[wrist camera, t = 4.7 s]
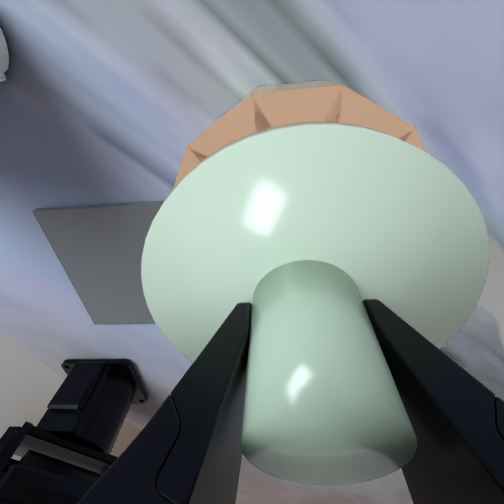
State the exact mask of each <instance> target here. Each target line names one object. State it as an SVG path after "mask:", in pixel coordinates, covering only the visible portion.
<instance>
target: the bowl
mask: <svg viewBox="0 0 504 504" xmlns="http://www.w3.org/2000/svg"><path fill="white" fill-rule="evenodd" d="M324 121H333V122H341V123H348V124H356V125H361V126H365V127H368V128H372V129H375V130H379V131H383V132H386V133H388V134H390V135H392V136H394V137H397V138H399V139H401V140H403V141H405V142H407V143H409V144H411V145H413V146H415V147H417V148H419V149H421V150H423V151H424V148H423V145H422V143H421V140H420V137H419V135H418V132H417V129H416V128H415V127H414V126H412V125H411V124H409V123H407V122H406V121H404V120H402V119H400V118H399V117H397V116H395V115H394V114H392V113H390V112H388V111H387V110H385V109H383V108H382V107H380V106H378V105H376V104H375V103H373V102H371V101H370V100H368V99H366V98H364V97H363V96H361V95H359V94H357V93H356V92H354V91H352V90H351V89H349V88H347V87H345V86H344V85H339V84H334V83H330V82H325V81H310V82H300V83H290V84H280V85H270V86H260V87H257V88H256V89H255V90H253V91H252V92H251V93H250V94H248V95H247V96H246V97H245V98H243V99H242V100H241V101H240V102H239V103H237V104H236V105H235V106H234V107H232V108H231V109H230V110H229V111H227V112H226V113H225V114H224V115H222V116H221V117H220V118H219V119H217V120H216V121H215V122H214V123H212V124H211V125H210V126H209V127H208V128H207V129H206V130H204V131H203V132H202V133H201V134H200V135H199V136H198V137H196V138H195V139H194V140H193V141H192V142H191V143H190V144H189V145H187V147H186V150H185V154H184V157H183V160H182V163H181V166H180V169H179V172H178V175H177V178H176V181H175V185H174V188H173V190H174V189H175V188H176V187H177V186H178V184H179V183H180V182H181V181H182V180H183V179H184V177H185V176H186V175H187V174H188V173H189V172H190V171H191V170H192V169H194V168H195V167H196V166H197V165H198V164H199V163H200V162H202V161H203V160H204V159H205V158H207V157H208V156H210V155H211V154H213V153H214V152H216V151H217V150H219V149H221V148H222V147H224V146H225V145H227V144H229V143H231V142H234V141H236V140H238V139H240V138H242V137H244V136H247V135H249V134H251V133H255V132H258V131H261V130H265V129H268V128H271V127H275V126H280V125H286V124H293V123H299V122H324ZM172 192H173V191H172Z"/></svg>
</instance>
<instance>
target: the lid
mask: <svg viewBox="0 0 504 504" xmlns="http://www.w3.org/2000/svg"><path fill="white" fill-rule="evenodd" d="M488 265H489V241H488V235H487V231H486V226H485V222H484V219H483V217H482V215H481V212H480V210H479V207H478V205H477V203H476V201H475V200H474V198H473V197H472V195H471V194H470V192H469V191H468V189H467V188H466V187H465V185H464V184H463V183H462V182H461V181H460V180H459V179H458V178H457V177H456V176H455V175H454V174H453V173H452V172H451V171H450V170H449V169H448V168H447V167H446V166H445V165H444V164H442V163H441V162H439V161H438V160H436V159H435V158H433V157H432V156H430V155H429V154H428V153H426V152H425V151H423V150H421V149H419V148H417V147H415V146H413V145H411V144H409V143H407V142H405V141H403V140H401V139H399V138H397V137H394V136H392V135H390V134H388V133H386V132H383V131H379V130H375V129H372V128H368V127H365V126H361V125H356V124H348V123H341V122H333V121H324V122H299V123H293V124H286V125H280V126H275V127H271V128H268V129H265V130H261V131H258V132H255V133H251V134H249V135H247V136H244V137H242V138H240V139H238V140H236V141H234V142H231V143H229V144H227V145H225V146H224V147H222V148H221V149H219V150H217V151H216V152H214V153H213V154H211V155H210V156H208V157H207V158H205V159H204V160H203V161H202V162H200V163H199V164H198V165H197V166H196V167H195V168H194V169H192V170H191V171H190V172H189V173H188V174H187V175H186V176H185V177H184V179H183V180H182V181H181V182H180V183H179V184H178V186H177V187H176V188H175V189H174V190H173V192H172V193H171V194H170V195H169V196H168V198H167V199H166V200H165V201H164V203H163V204H162V206H161V208H160V209H159V211H158V213H157V214H156V216H155V218H154V219H153V221H152V224H151V226H150V229H149V232H148V234H147V237H146V239H145V244H144V249H143V254H142V263H141V278H142V286H143V292H144V296H145V299H146V303H147V306H148V308H149V311H150V313H151V315H152V317H153V319H154V321H155V323H156V324H157V326H158V327H159V329H160V331H161V332H162V334H163V335H164V336H165V337H166V339H167V340H168V341H169V342H170V343H171V344H172V346H173V347H174V348H176V349H177V350H178V351H179V352H180V353H181V354H182V355H183V356H184V357H185V358H187V359H188V360H189V361H191V362H192V363H193V362H194V361H195V360H196V358H197V357H198V356H199V354H200V353H201V352H202V350H203V349H204V348H205V346H206V345H207V344H208V342H209V341H210V340H211V338H212V337H213V335H214V334H215V333H216V331H217V330H218V329H219V327H220V326H221V325H222V323H223V322H224V321H225V319H226V318H227V317H228V315H229V314H230V313H231V311H232V310H233V308H234V307H235V306H236V304H237V303H243V302H250V303H251V304H252V312H251V324H250V336H249V347H248V360H247V372H246V384H245V396H244V409H243V421H242V433H241V450H242V453H243V455H244V456H245V458H246V459H247V460H248V461H249V462H250V463H251V464H252V465H253V466H255V467H256V468H258V469H259V470H261V471H263V472H265V473H267V474H269V475H272V476H274V477H277V478H280V479H284V480H288V481H292V482H297V483H303V484H312V485H344V484H353V483H360V482H365V481H370V480H373V479H377V478H380V477H383V476H386V475H388V474H390V473H392V472H395V471H396V470H398V469H400V468H401V467H403V466H404V465H405V464H407V463H408V462H409V461H410V460H411V459H412V458H413V456H414V454H415V453H416V450H417V438H416V435H415V432H414V430H413V427H412V425H411V422H410V420H409V417H408V415H407V412H406V410H405V407H404V405H403V402H402V400H401V397H400V395H399V392H398V390H397V387H396V385H395V382H394V379H393V377H392V374H391V372H390V369H389V367H388V364H387V362H386V359H385V357H384V354H383V352H382V349H381V347H380V344H379V342H378V339H377V337H376V334H375V332H374V329H373V327H372V324H371V322H370V319H369V317H368V314H367V312H366V309H365V307H364V304H363V300H364V299H377V300H379V301H381V302H382V303H383V304H384V305H386V306H387V307H388V308H389V309H391V310H392V311H393V312H394V313H395V314H397V315H398V316H399V317H400V318H402V319H403V320H404V321H405V322H407V323H408V324H409V325H410V326H411V327H413V328H414V329H415V330H416V331H418V332H419V333H420V334H421V335H423V336H424V337H425V338H426V339H427V340H429V341H430V342H431V343H432V344H434V345H435V346H436V347H437V348H439V349H441V348H442V347H443V346H444V345H445V344H447V343H448V341H449V340H450V339H451V338H452V337H453V336H454V335H455V334H456V333H457V332H458V331H459V330H460V328H461V327H462V326H463V324H464V323H465V322H466V320H467V319H468V318H469V316H470V315H471V313H472V311H473V309H474V308H475V306H476V304H477V302H478V300H479V298H480V295H481V292H482V290H483V287H484V284H485V282H486V276H487V270H488Z"/></svg>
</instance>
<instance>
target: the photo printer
mask: <svg viewBox="0 0 504 504" xmlns="http://www.w3.org/2000/svg"><path fill="white" fill-rule="evenodd" d="M8 66H9V53H8V48H7V43H6V40H5V37H4V35H3V32H2V30H1V28H0V82H2V81H5V80H6V77H5V75H4V72H5V71H7V69H8Z"/></svg>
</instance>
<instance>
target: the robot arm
mask: <svg viewBox="0 0 504 504" xmlns="http://www.w3.org/2000/svg"><path fill="white" fill-rule="evenodd" d="M363 304H364V307H365V309H366V312H367V314H368V317H369V319H370V322H371V324H372V327H373V329H374V332H375V334H376V337H377V339H378V342H379V344H380V347H381V349H382V352H383V354H384V357H385V359H386V362H387V364H388V367H389V369H390V372H391V374H392V377H393V379H394V382H395V385H396V387H397V390H398V392H399V395H400V397H401V400H402V402H403V405H404V407H405V410H406V412H407V415H408V417H409V420H410V422H411V425H412V427H413V430H414V432H415V435H416V438H417V450H416V453H415V454H414V456H413V458H412V459H411V460H410V461H409V462H408V463H407V464H405V465H404V466H403V467H401V468H402V471H403V474H404V477H405V480H406V483H407V486H408V489H409V492H410V495H411V497H412V500H413V503H414V504H504V401H503V400H502V399H500V398H499V397H495V394H494V393H493V392H492V391H490V390H489V389H488V388H487V387H485V386H484V385H483V384H482V383H480V382H479V381H478V380H477V379H476V378H474V377H473V376H472V375H471V374H469V373H468V372H467V371H466V370H464V369H463V368H462V367H461V366H459V365H458V364H457V363H456V362H455V361H453V360H452V359H451V358H450V357H448V356H447V355H446V354H445V353H443V352H442V351H441V350H440V349H439V348H437V347H436V346H435V345H434V344H432V343H431V342H430V341H429V340H427V339H426V338H425V337H424V336H423V335H421V334H420V333H419V332H418V331H416V330H415V329H414V328H413V327H411V326H410V325H409V324H408V323H407V322H405V321H404V320H403V319H402V318H400V317H399V316H398V315H397V314H395V313H394V312H393V311H392V310H391V309H389V308H388V307H387V306H386V305H384V304H383V303H382V302H381V301H379V300H377V299H364V300H363ZM251 312H252V304H251V303H250V302H243V303H237V304H236V306H235V307H234V308H233V310H232V311H231V313H230V314H229V315H228V317H227V318H226V319H225V321H224V322H223V323H222V325H221V326H220V327H219V329H218V330H217V331H216V333H215V334H214V335H213V337H212V338H211V340H210V341H209V342H208V344H207V345H206V346H205V348H204V349H203V350H202V352H201V353H200V354H199V356H198V357H197V358H196V360H195V361H194V362H193V364H192V365H191V366H190V368H189V369H188V371H187V372H186V373H185V375H184V376H183V377H182V379H181V380H180V381H179V383H178V384H177V385H176V387H175V388H174V389H173V391H172V392H171V395H169V396H168V397H167V399H166V400H165V401H164V403H163V404H162V405H161V407H160V408H159V409H158V411H157V412H156V413H155V414H154V416H153V417H152V418H151V420H150V421H149V422H148V423H147V425H146V426H145V427H144V428H143V430H142V431H141V432H140V433H139V434H138V435H137V437H136V438H135V439H134V440H133V441H132V443H131V444H130V445H129V446H128V447H127V448H126V449H125V451H124V452H123V453H122V454H121V455H120V456H119V457H116V456H113V455H110V453H111V450H112V448H113V446H114V443H115V441H116V438H117V436H118V434H119V431H120V429H121V427H122V424H123V422H124V419H125V417H126V415H127V412H128V410H129V408H130V405H131V404H144V403H146V402H147V399H148V397H147V395H146V393H145V391H144V389H143V387H142V385H141V383H140V381H139V379H138V377H137V375H136V373H135V371H134V369H133V367H132V365H131V363H130V362H129V361H128V360H65V361H64V362H63V363H62V365H61V366H62V368H63V369H64V371H65V372H66V374H67V375H68V376H67V377H66V379H65V380H64V382H63V383H62V385H61V386H60V388H59V390H58V391H57V392H56V394H55V395H54V397H53V398H52V400H51V401H50V403H49V404H48V410H47V411H46V413H45V414H44V416H43V418H42V419H41V420H40V422H39V424H38V425H37V426H36V427H35V426H33V424H32V423H29V422H25V423H24V425H23V426H22V427H9V428H8V429H7V431H6V432H5V434H4V435H3V436H2V437H1V439H0V504H235V501H236V494H237V487H238V480H239V473H240V466H241V459H242V450H241V433H242V421H243V409H244V396H245V384H246V372H247V360H248V347H249V336H250V324H251ZM13 454H15V455H18V456H21V457H22V458H21V460H20V461H17V460H14V459H11V457H12V456H13Z"/></svg>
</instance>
